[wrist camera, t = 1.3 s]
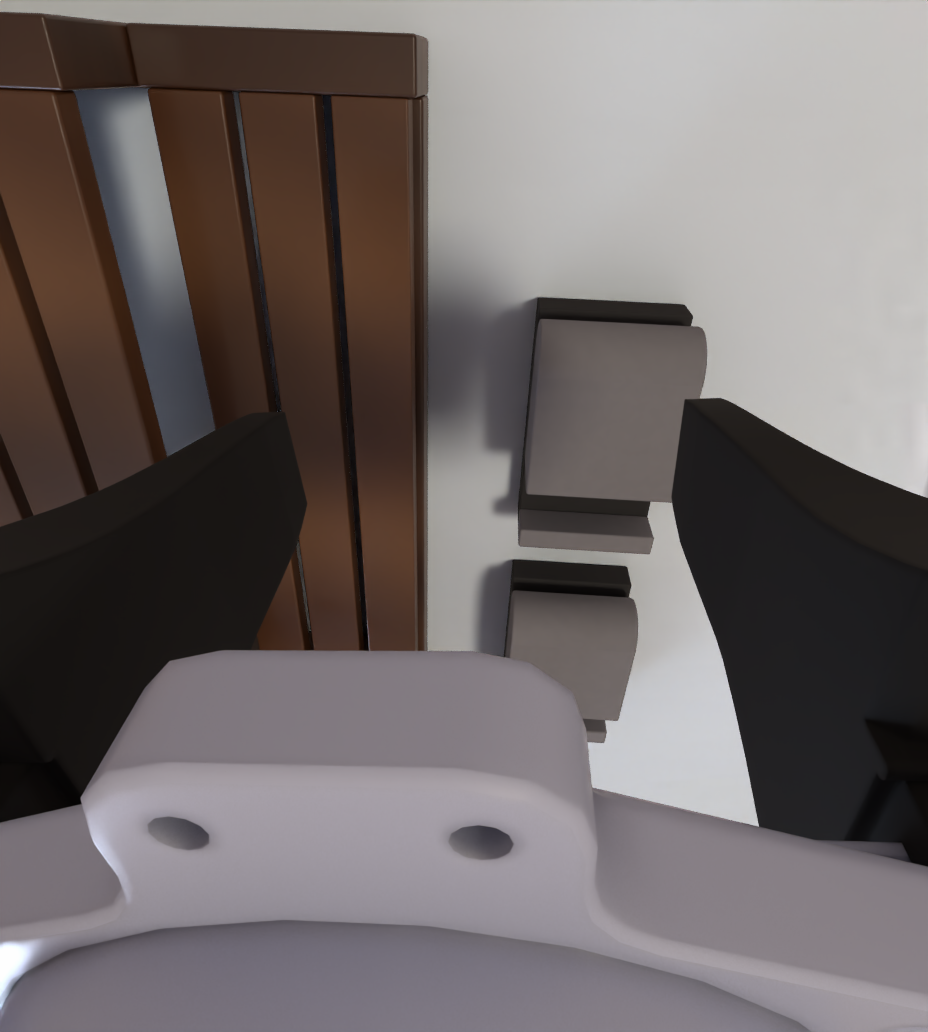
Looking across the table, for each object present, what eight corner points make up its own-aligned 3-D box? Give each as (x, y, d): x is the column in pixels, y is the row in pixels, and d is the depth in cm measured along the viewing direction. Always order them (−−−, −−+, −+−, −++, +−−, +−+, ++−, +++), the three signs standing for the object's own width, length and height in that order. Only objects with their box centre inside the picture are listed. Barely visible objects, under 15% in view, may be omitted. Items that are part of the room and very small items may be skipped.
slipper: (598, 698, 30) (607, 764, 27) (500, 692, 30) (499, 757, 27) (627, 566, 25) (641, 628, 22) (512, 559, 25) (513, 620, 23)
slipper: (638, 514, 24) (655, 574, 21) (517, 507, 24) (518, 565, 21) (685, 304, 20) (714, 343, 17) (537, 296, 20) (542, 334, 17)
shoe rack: (427, 659, 29) (411, 769, 24) (135, 639, 29) (66, 744, 25) (428, 37, 16) (396, 26, 12) (-81, 18, 17) (-299, 0, 12)
